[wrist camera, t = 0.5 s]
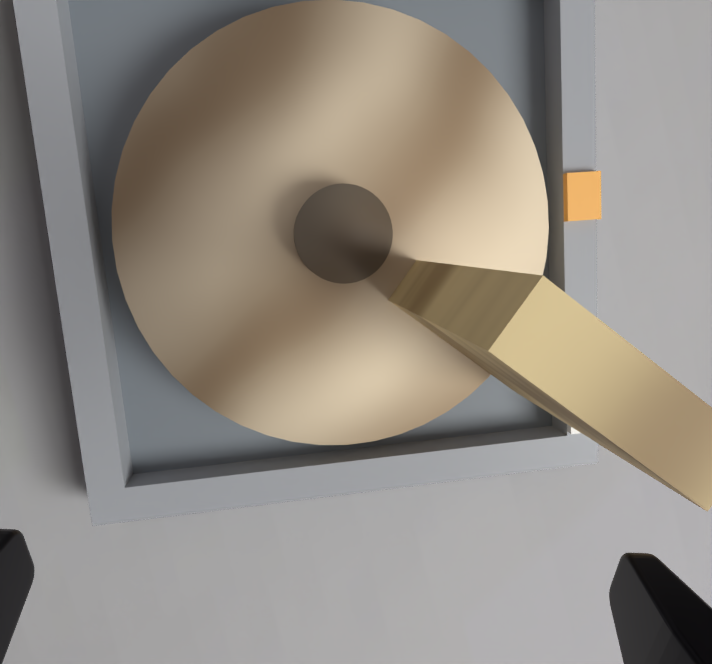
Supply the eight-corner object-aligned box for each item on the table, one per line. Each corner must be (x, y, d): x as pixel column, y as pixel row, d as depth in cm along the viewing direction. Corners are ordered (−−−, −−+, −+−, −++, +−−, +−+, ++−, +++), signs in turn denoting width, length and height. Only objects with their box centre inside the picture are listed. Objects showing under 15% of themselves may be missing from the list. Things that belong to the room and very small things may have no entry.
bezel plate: (571, 445, 24) (602, 466, 22) (109, 500, 22) (89, 530, 20) (564, -39, 21) (599, -72, 19) (31, -29, 19) (-1, -65, 17)
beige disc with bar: (39, 283, 20) (-254, 332, 9) (285, -77, 19) (296, -500, 8) (400, 513, 22) (515, 765, 12) (623, 208, 22) (963, 174, 11)
